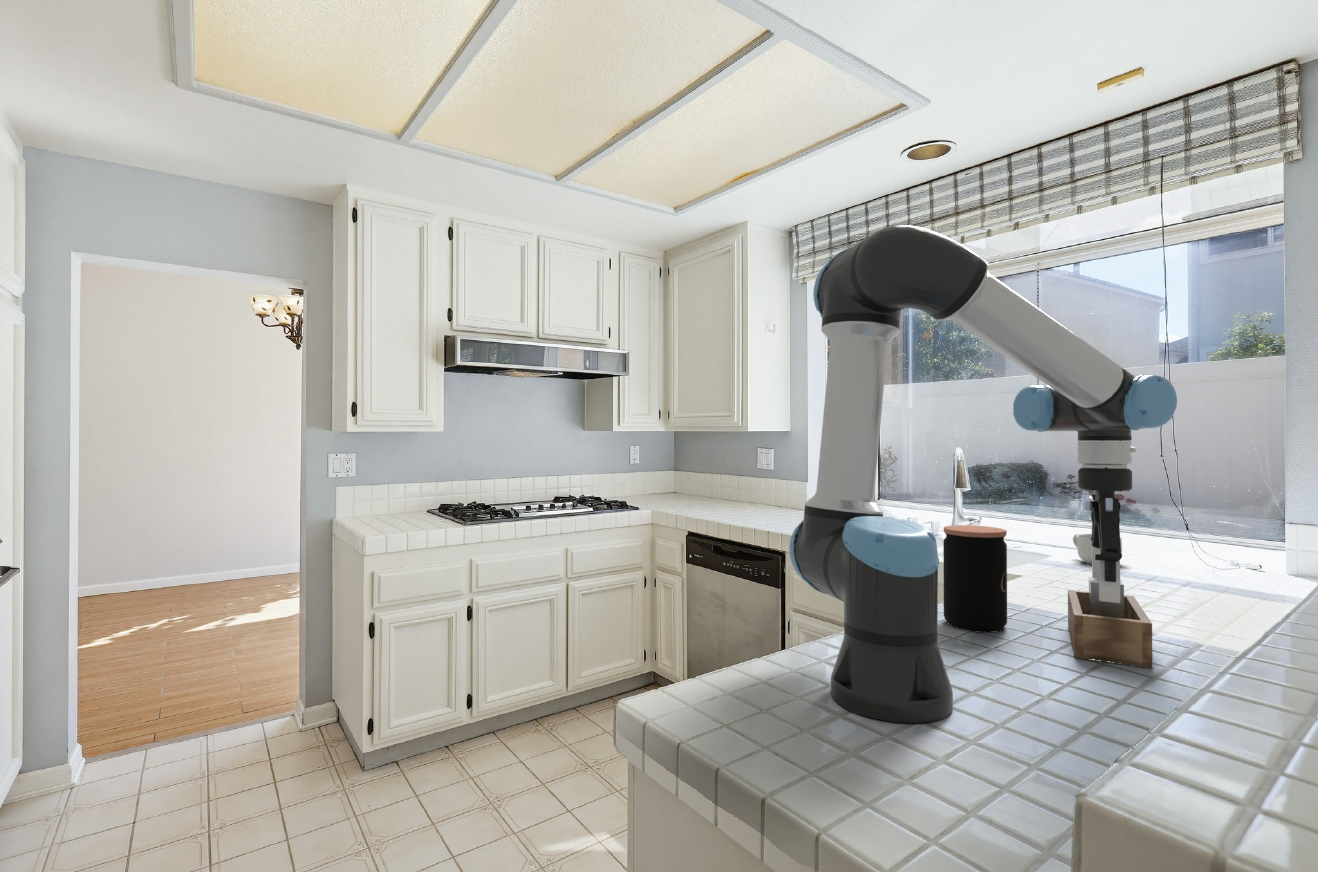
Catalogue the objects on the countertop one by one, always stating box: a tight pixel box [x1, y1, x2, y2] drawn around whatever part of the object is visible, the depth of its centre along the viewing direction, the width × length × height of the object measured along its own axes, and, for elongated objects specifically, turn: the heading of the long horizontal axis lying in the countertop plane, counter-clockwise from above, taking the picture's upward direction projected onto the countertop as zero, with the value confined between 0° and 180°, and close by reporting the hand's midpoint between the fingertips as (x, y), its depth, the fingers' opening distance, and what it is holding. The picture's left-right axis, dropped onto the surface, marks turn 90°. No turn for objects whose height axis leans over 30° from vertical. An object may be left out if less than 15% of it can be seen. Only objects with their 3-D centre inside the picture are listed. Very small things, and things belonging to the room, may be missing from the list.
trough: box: [1067, 589, 1153, 669], centre depth 109 cm, size 10×21×7 cm, turn 150°
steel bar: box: [1088, 576, 1125, 619], centre depth 109 cm, size 4×4×10 cm
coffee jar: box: [942, 524, 1008, 633], centre depth 121 cm, size 11×11×18 cm
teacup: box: [1072, 533, 1123, 565], centre depth 186 cm, size 14×11×8 cm
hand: (1105, 593), depth 109 cm, fingers open, 13 cm apart
